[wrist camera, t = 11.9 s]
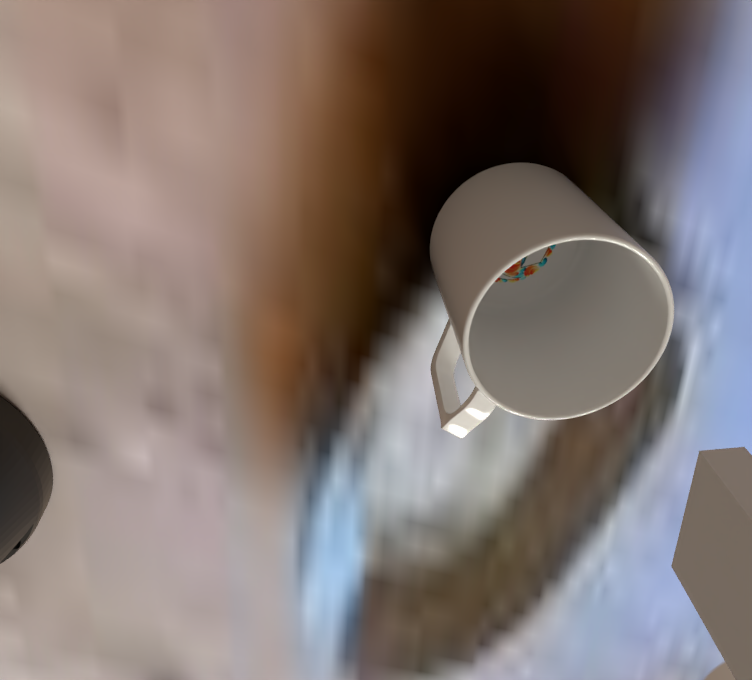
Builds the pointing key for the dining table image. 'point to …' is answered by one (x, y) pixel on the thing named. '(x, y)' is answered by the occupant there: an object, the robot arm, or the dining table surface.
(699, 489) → the robot arm
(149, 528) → the dining table surface
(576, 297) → the grey rounded block
